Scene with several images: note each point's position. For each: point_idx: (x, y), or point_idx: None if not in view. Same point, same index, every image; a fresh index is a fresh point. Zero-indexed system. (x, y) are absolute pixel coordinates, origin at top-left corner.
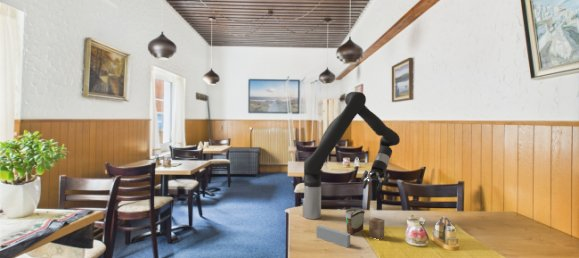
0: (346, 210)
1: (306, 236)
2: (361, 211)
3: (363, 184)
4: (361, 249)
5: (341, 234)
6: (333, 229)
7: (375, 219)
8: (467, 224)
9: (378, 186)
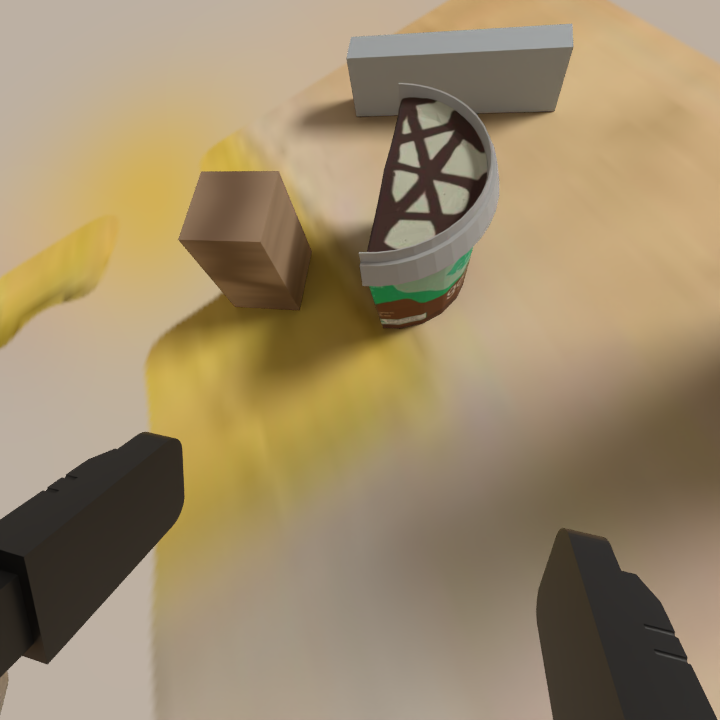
0: (487, 138)
1: (605, 68)
2: (380, 239)
3: (613, 585)
4: (298, 118)
5: (388, 37)
6: (458, 49)
7: (239, 205)
8: None
9: (107, 465)
